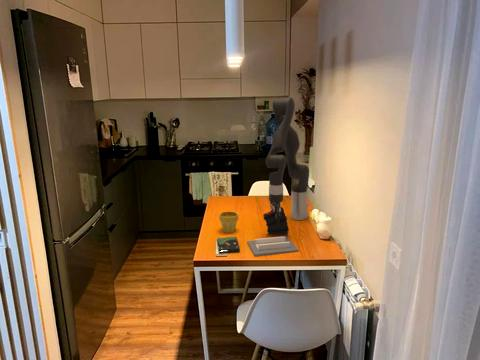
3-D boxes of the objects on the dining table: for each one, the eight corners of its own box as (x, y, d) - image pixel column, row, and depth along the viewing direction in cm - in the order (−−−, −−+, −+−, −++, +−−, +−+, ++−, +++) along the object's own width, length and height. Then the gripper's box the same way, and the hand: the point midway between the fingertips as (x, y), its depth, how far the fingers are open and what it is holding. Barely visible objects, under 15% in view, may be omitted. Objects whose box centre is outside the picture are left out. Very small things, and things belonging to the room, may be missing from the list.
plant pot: (228, 235, 201) (228, 218, 199) (216, 230, 208) (215, 214, 206) (242, 230, 208) (241, 214, 206) (229, 225, 215) (229, 209, 213)
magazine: (294, 232, 197) (282, 208, 194) (271, 241, 200) (259, 218, 197) (293, 229, 201) (282, 205, 198) (271, 239, 203) (259, 215, 200)
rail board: (287, 238, 196) (287, 232, 195) (298, 251, 181) (298, 245, 180) (247, 243, 191) (247, 236, 190) (254, 256, 176) (254, 249, 175)
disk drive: (240, 253, 181) (236, 241, 195) (240, 248, 180) (236, 236, 194) (219, 255, 180) (216, 242, 194) (219, 249, 179) (216, 237, 193)
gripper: (287, 195, 188) (287, 226, 193) (278, 188, 202) (278, 217, 206) (273, 196, 187) (273, 228, 191) (265, 189, 200) (265, 218, 205)
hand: (275, 222), depth 199 cm, fingers closed on magazine, 4 cm apart
